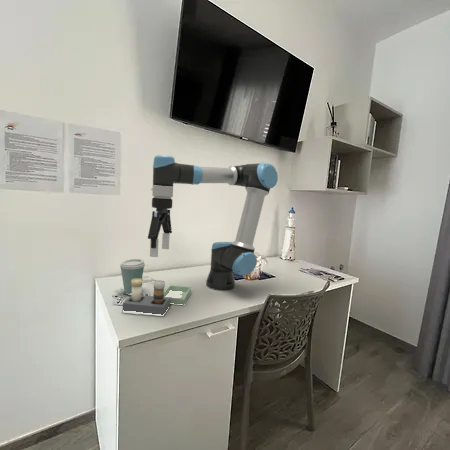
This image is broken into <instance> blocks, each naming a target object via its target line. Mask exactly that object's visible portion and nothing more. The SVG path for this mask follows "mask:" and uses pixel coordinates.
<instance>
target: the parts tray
mask: <svg viewBox="0 0 450 450" xmlns="http://www.w3.org/2000/svg"><path fill="white" fill-rule="evenodd" d="M170 290H172V291H182V292H183V293H182V294H180V295H182V297H181V298H172V297H166V298H170V303H174V304H183V305H184V304H186V303H187V301H188V299H189V298H188V297H190V296H191V294H192V287H191V286H182V285H174V284H169V285H168V286H167V287H166V289H164V297H165V296H166V295H167V294H168V293H169V291H170ZM190 293H191V294H190ZM189 295H190V296H189ZM186 300H187V301H186ZM185 302H186V303H185ZM184 306H185V305H184Z"/></svg>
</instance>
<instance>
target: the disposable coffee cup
mask: <svg viewBox="0 0 450 450" xmlns="http://www.w3.org/2000/svg"><path fill="white" fill-rule="evenodd" d="M145 264H146V263H145V261H144V259H142V258H141V259H140V258H131V259H130V258H129V259H126V260H124V261H122V262H121V263H120V265H119V266H120V271H121V278H122V285H123V291H124V294H125V293H129V294H130V293H132V286H131V280H132V279H135V278H140V279H142V280H143V275H144V270H145V269H144V268H145V267H146V265H145Z"/></svg>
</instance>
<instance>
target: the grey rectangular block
mask: <svg viewBox="0 0 450 450" xmlns="http://www.w3.org/2000/svg"><path fill="white" fill-rule="evenodd" d="M131 297H132V295H129V297H128V298H126V299H125V301H123V303H122V311H123V310H124V311H136V312H143V313H152V314H161V315H163V314H164V313H165V312H166V310H167V309H168V307H169V306H170V307H171V305H170V298H166V297H164V298H163V305H161V304H153V302H154V295H145V294H142V298H141V302H132V301H131ZM168 310H169V309H168ZM166 313H167V312H166Z"/></svg>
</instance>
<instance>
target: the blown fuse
mask: <svg viewBox="0 0 450 450" xmlns="http://www.w3.org/2000/svg"><path fill="white" fill-rule="evenodd" d="M165 283H166V282H165V281H164V280H161V279H160V280H159V279H158V280H154V281H153V296H154V302H153V304H161V305H163V298H164V291H165V285H166V284H165Z"/></svg>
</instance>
